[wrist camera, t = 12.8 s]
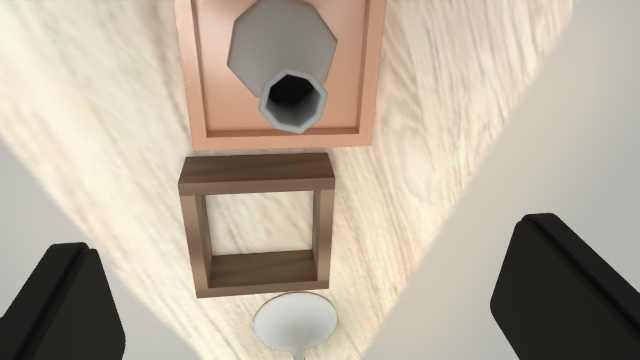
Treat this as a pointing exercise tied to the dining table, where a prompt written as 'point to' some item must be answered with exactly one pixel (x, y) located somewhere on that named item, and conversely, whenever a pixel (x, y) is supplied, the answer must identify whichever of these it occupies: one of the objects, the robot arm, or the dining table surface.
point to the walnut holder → (257, 177)
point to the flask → (284, 61)
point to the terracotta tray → (242, 106)
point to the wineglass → (295, 322)
